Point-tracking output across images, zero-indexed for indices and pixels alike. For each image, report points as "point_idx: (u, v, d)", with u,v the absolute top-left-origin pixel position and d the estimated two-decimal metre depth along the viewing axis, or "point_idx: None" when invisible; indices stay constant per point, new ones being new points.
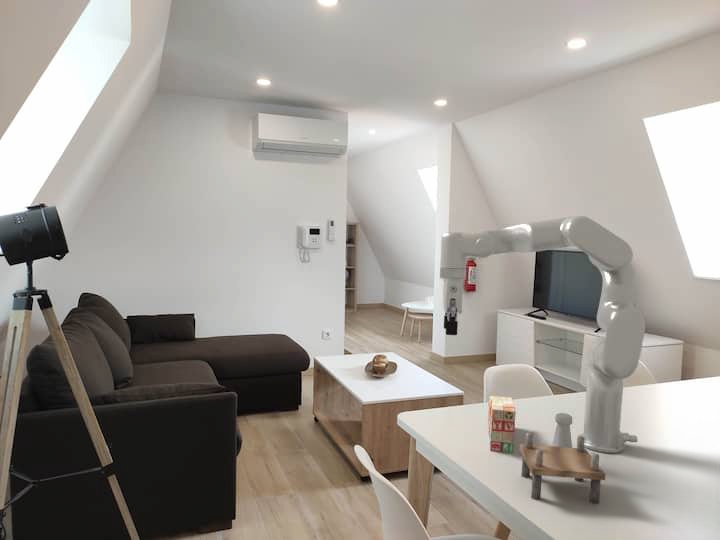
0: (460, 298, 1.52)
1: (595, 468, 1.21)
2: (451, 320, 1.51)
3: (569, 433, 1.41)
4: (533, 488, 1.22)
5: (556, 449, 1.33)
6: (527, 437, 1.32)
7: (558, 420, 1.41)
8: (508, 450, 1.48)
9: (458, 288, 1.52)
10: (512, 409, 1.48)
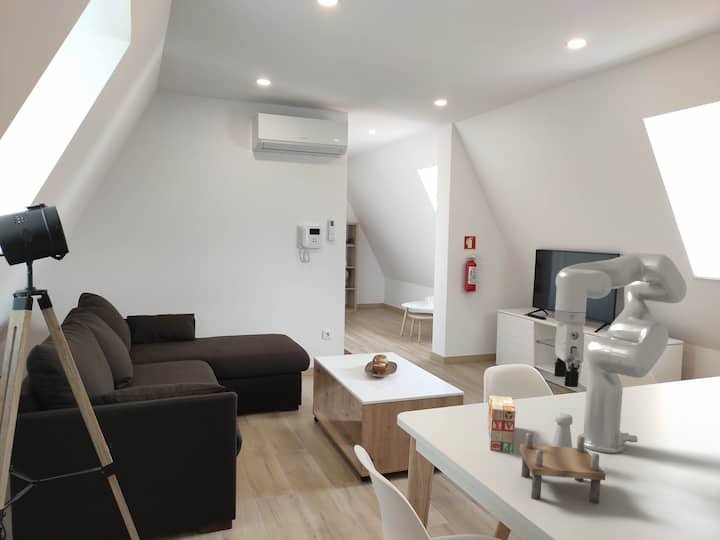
0: (582, 346, 1.36)
1: (595, 468, 1.21)
2: (572, 371, 1.35)
3: (569, 433, 1.41)
4: (533, 488, 1.22)
5: (556, 449, 1.33)
6: (527, 437, 1.32)
7: (558, 420, 1.41)
8: (508, 449, 1.48)
9: (580, 335, 1.36)
10: (512, 409, 1.49)
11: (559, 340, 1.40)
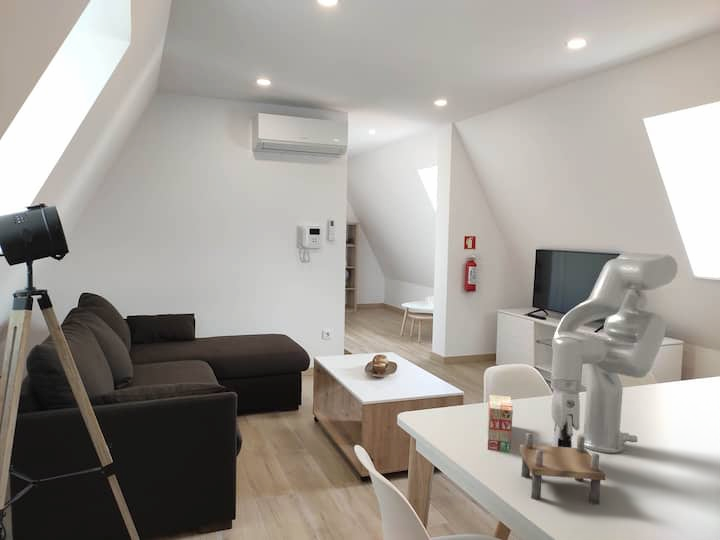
0: (578, 414, 1.37)
1: (595, 468, 1.21)
2: (565, 439, 1.40)
3: None
4: (533, 488, 1.22)
5: (556, 449, 1.33)
6: (527, 437, 1.32)
7: None
8: (505, 449, 1.49)
9: (576, 403, 1.37)
10: (510, 408, 1.49)
11: (555, 406, 1.42)
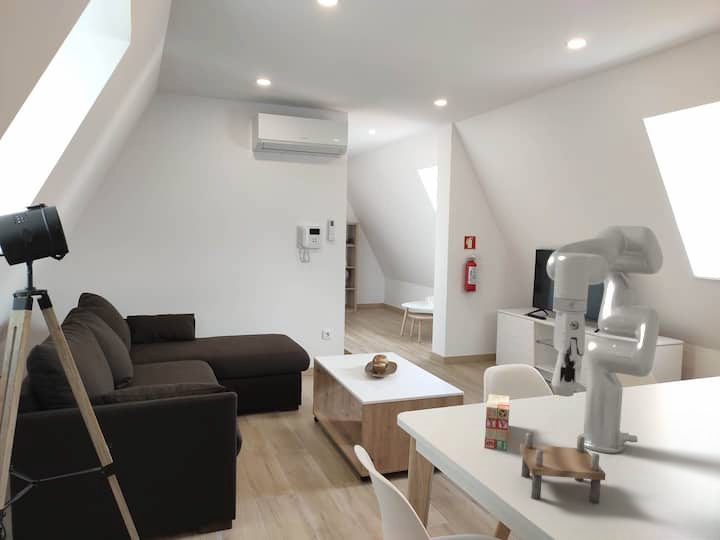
0: (583, 337, 1.22)
1: (595, 468, 1.21)
2: (568, 367, 1.24)
3: None
4: (533, 488, 1.22)
5: (556, 449, 1.33)
6: (527, 437, 1.32)
7: None
8: (502, 448, 1.49)
9: (580, 324, 1.22)
10: (507, 407, 1.50)
11: (558, 331, 1.27)
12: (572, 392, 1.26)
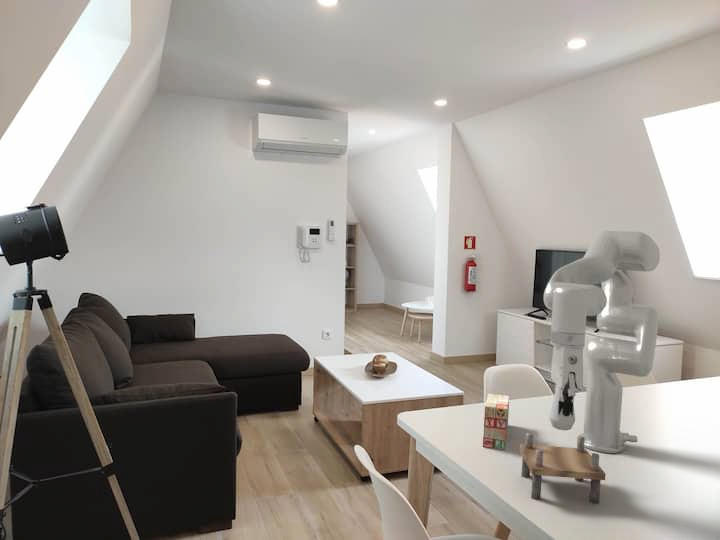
0: (581, 371, 1.21)
1: (595, 468, 1.21)
2: (566, 401, 1.23)
3: None
4: (533, 488, 1.22)
5: (556, 449, 1.33)
6: (527, 437, 1.32)
7: None
8: (500, 447, 1.50)
9: (579, 359, 1.21)
10: (505, 407, 1.50)
11: (556, 364, 1.25)
12: (570, 426, 1.25)
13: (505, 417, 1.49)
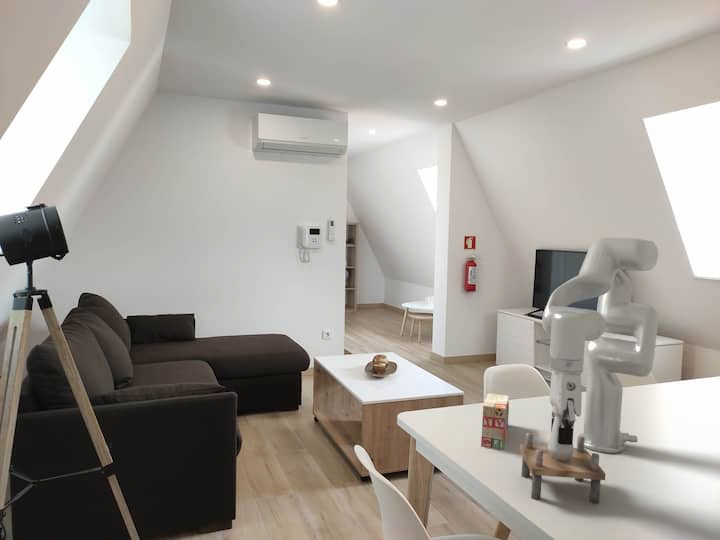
0: (579, 398, 1.21)
1: (595, 468, 1.21)
2: (566, 427, 1.22)
3: None
4: (533, 488, 1.22)
5: None
6: (527, 437, 1.32)
7: (556, 411, 1.26)
8: (498, 446, 1.50)
9: (577, 385, 1.21)
10: (503, 406, 1.51)
11: (554, 389, 1.26)
12: (569, 456, 1.25)
13: (503, 416, 1.49)
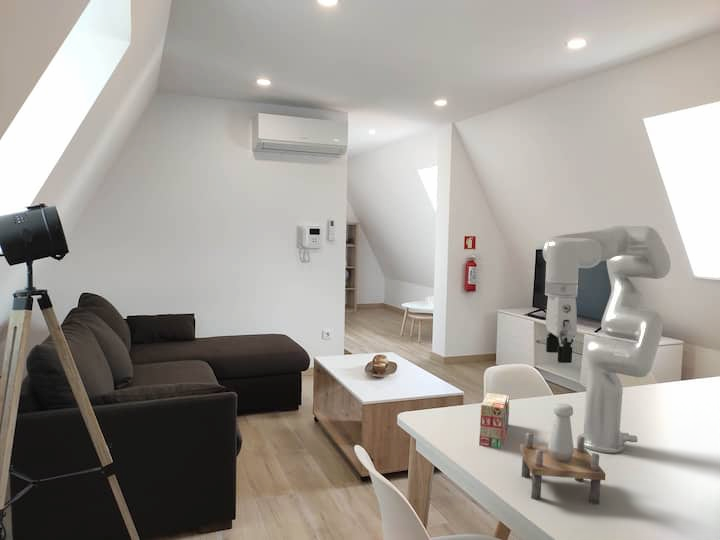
0: (575, 319, 1.28)
1: (595, 468, 1.21)
2: (565, 346, 1.27)
3: (569, 426, 1.25)
4: (533, 488, 1.22)
5: None
6: (527, 437, 1.32)
7: (557, 411, 1.26)
8: (496, 446, 1.51)
9: (572, 307, 1.28)
10: (501, 406, 1.51)
11: (550, 314, 1.32)
12: (569, 457, 1.25)
13: (501, 416, 1.50)
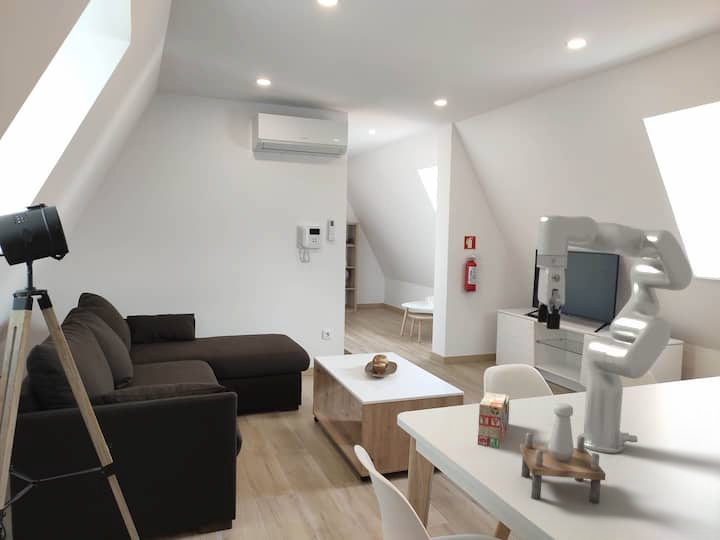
0: (563, 288, 1.37)
1: (595, 468, 1.21)
2: (554, 313, 1.37)
3: (569, 426, 1.25)
4: (533, 488, 1.22)
5: None
6: (527, 437, 1.32)
7: (557, 411, 1.26)
8: (495, 445, 1.51)
9: (561, 277, 1.37)
10: (500, 405, 1.51)
11: (541, 284, 1.42)
12: (569, 457, 1.25)
13: (499, 415, 1.50)
